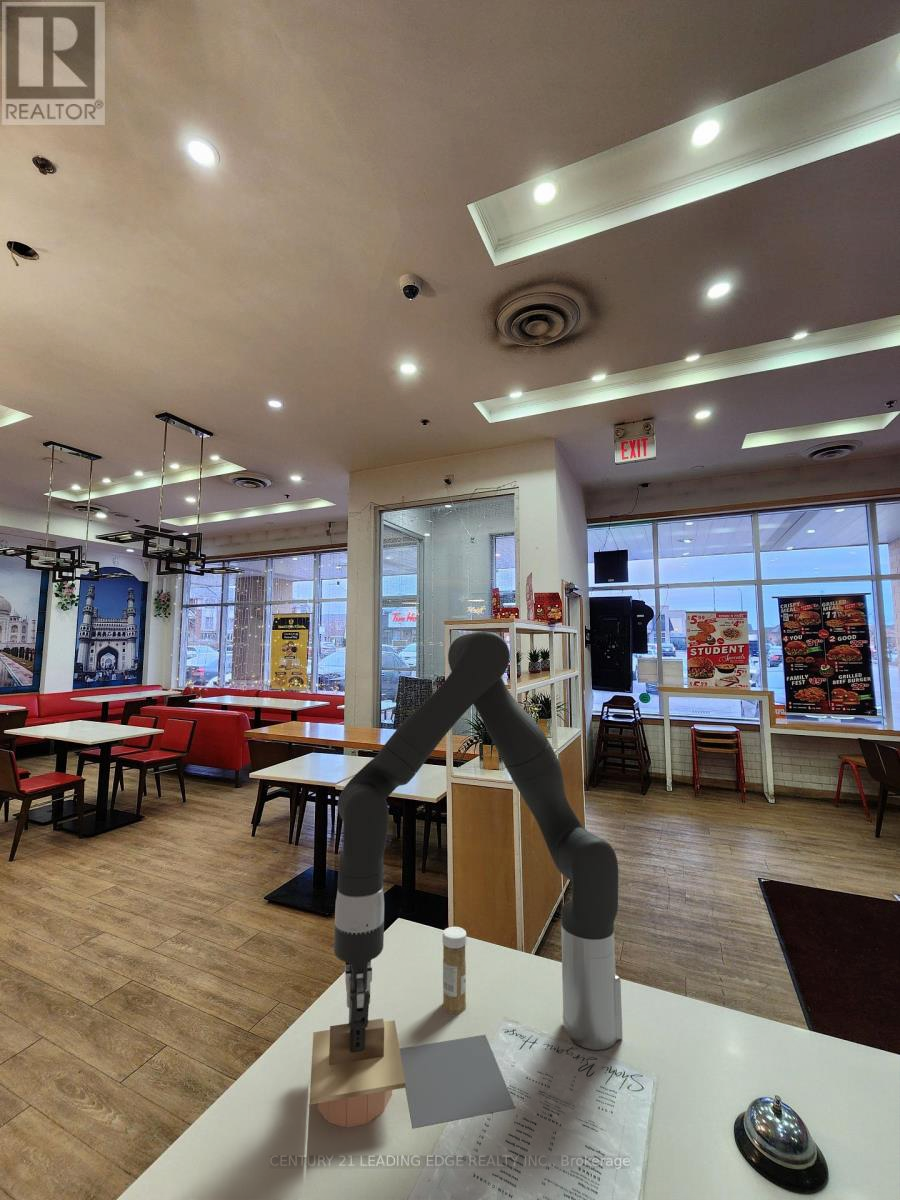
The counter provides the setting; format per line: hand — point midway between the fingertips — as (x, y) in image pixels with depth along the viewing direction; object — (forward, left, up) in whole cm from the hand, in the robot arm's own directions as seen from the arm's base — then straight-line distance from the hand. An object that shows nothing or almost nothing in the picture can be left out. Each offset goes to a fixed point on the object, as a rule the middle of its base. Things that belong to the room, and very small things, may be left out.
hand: (356, 1039), depth 77 cm
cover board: (0, 0, -3) cm, 3 cm away
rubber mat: (-15, 0, -8) cm, 17 cm away
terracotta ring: (0, 0, -8) cm, 8 cm away
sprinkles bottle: (-19, -16, -8) cm, 26 cm away
